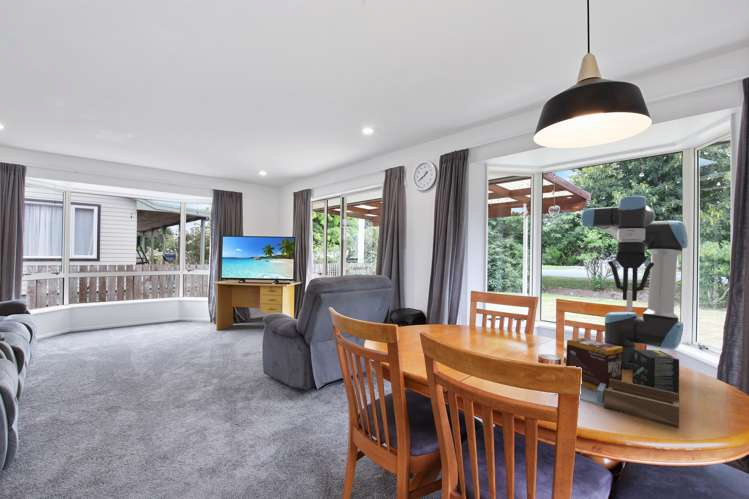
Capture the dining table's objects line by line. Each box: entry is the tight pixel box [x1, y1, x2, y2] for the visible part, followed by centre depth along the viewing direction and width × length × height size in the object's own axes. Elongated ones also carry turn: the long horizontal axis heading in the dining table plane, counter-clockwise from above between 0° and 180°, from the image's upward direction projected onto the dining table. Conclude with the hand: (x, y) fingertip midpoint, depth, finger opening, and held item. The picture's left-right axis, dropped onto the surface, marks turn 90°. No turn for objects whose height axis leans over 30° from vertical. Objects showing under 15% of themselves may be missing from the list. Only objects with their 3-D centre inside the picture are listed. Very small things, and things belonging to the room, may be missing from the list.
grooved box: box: [603, 379, 680, 429], centre depth 110 cm, size 13×18×6 cm
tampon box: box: [631, 348, 680, 403], centre depth 122 cm, size 11×9×15 cm
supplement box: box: [565, 337, 623, 391], centre depth 131 cm, size 10×15×16 cm
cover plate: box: [579, 383, 606, 407], centre depth 121 cm, size 10×16×5 cm, turn 50°
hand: (629, 310), depth 118 cm, fingers closed
